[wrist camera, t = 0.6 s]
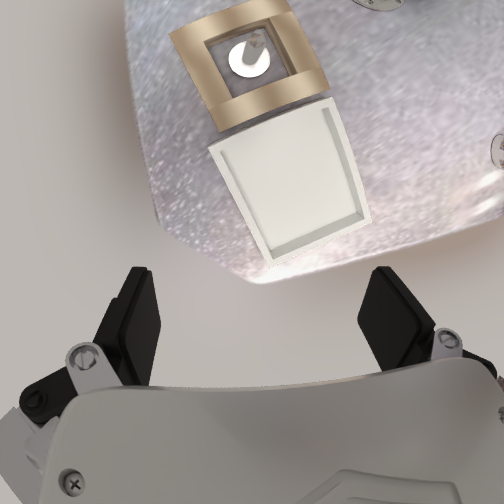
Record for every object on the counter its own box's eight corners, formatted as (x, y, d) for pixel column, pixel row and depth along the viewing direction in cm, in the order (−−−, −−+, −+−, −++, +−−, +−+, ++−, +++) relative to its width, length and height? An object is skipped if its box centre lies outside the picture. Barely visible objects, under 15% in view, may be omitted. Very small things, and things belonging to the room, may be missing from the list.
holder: (275, 3, 24) (281, -8, 21) (319, 91, 31) (330, 89, 27) (174, 41, 26) (168, 33, 23) (220, 130, 33) (219, 132, 29)
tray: (322, 97, 31) (332, 96, 28) (361, 213, 40) (372, 222, 37) (209, 144, 33) (207, 147, 30) (265, 255, 42) (268, 268, 39)
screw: (254, 85, 30) (221, 67, 29) (275, 57, 28) (242, 38, 27) (269, 70, 19) (218, 42, 17) (300, 30, 17) (251, 2, 15)
